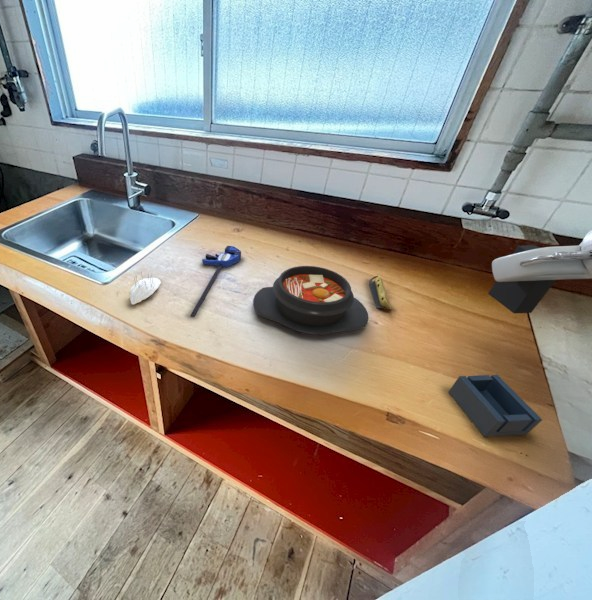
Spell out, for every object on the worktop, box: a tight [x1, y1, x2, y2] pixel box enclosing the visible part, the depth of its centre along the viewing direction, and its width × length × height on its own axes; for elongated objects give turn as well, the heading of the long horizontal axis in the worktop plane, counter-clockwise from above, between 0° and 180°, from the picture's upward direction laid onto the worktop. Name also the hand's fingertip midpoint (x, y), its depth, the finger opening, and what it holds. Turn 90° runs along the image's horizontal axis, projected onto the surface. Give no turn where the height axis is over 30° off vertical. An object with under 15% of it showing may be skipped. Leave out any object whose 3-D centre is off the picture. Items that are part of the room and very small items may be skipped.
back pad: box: [487, 244, 557, 314], centre depth 55 cm, size 6×3×10 cm, turn 1°
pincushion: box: [129, 271, 162, 306], centre depth 81 cm, size 12×6×6 cm, turn 153°
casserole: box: [252, 265, 369, 336], centre depth 72 cm, size 25×19×8 cm
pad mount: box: [448, 374, 543, 438], centre depth 51 cm, size 8×6×4 cm
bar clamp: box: [190, 245, 242, 317], centre depth 86 cm, size 32×2×10 cm
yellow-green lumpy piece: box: [368, 275, 392, 310], centre depth 78 cm, size 3×14×3 cm
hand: (523, 275), depth 55 cm, fingers closed on back pad, 3 cm apart
